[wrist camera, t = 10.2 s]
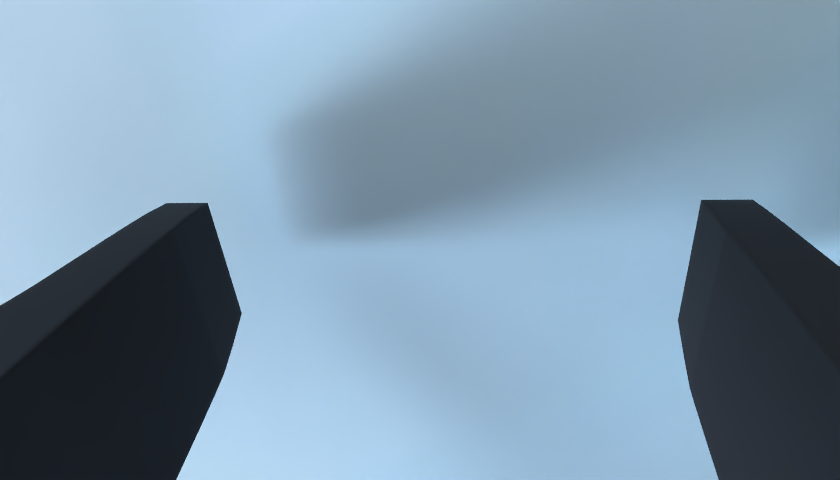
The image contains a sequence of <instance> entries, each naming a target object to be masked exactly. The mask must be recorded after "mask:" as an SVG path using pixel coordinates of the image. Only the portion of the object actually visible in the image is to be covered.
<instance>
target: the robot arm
mask: <svg viewBox="0 0 840 480" xmlns="http://www.w3.org/2000/svg"><path fill="white" fill-rule="evenodd" d="M241 314H242V313H241V310H240V306H239V303H238V300H237V297H236V293H235V290H234V287H233V284H232V281H231V277H230V274H229V271H228V268H227V264H226V261H225V258H224V255H223V251H222V248H221V245H220V242H219V238H218V235H217V232H216V229H215V226H214V222H213V219H212V216H211V213H210V209H209V206H208V203H166V204H164V205H162V206H160V207H158V208H157V209H155V210H153V211H151V212H149V213H147V214H146V215H144V216H142V217H140V218H139V219H137V220H135V221H134V222H132V223H131V224H129V225H127V226H126V227H124V228H123V229H121V230H119V231H118V232H116V233H115V234H113V235H112V236H110V237H108V238H107V239H105V240H104V241H102V242H101V243H99V244H98V245H96V246H94V247H93V248H91V249H90V250H88V251H87V252H85V253H84V254H82V255H81V256H79V257H77V258H76V259H74V260H73V261H71V262H70V263H68V264H67V265H65V266H63V267H62V268H60V269H59V270H57V271H56V272H54V273H53V274H51V275H49V276H48V277H46V278H45V279H43V280H42V281H40V282H39V283H37V284H35V285H34V286H32V287H31V288H29V289H27V290H26V291H24V292H22V293H21V294H19V295H17V296H16V297H14V298H12V299H11V300H9V301H7V302H6V303H4V304H2V305H1V306H0V480H176V479H177V477H178V475H179V472H180V470H181V468H182V466H183V464H184V461H185V459H186V457H187V455H188V453H189V451H190V448H191V446H192V444H193V442H194V440H195V438H196V435H197V433H198V431H199V429H200V427H201V425H202V422H203V420H204V418H205V416H206V413H207V411H208V409H209V407H210V405H211V402H212V400H213V398H214V396H215V393H216V391H217V389H218V387H219V384H220V382H221V380H222V377H223V375H224V372H225V369H226V366H227V362H228V359H229V356H230V353H231V350H232V346H233V343H234V339H235V335H236V332H237V328H238V325H239V321H240V317H241ZM678 323H679V329H680V335H681V341H682V347H683V353H684V359H685V365H686V370H687V375H688V380H689V386H690V390H691V393H692V397H693V400H694V403H695V406H696V410H697V413H698V416H699V419H700V422H701V425H702V429H703V432H704V435H705V438H706V441H707V444H708V448H709V451H710V454H711V457H712V460H713V463H714V466H715V469H716V472H717V475H718V479H719V480H840V267H839V266H838V265H836V264H835V263H834V262H833V261H831V260H830V259H829V258H828V257H826V256H825V255H824V254H822V253H821V252H820V251H819V250H817V249H816V248H815V247H814V246H812V245H811V244H810V243H809V242H807V241H806V240H805V239H803V238H802V237H801V236H800V235H798V234H797V233H796V232H795V231H793V230H792V229H791V228H790V227H788V226H787V225H786V224H785V223H783V222H782V221H781V220H779V219H778V218H777V217H776V216H774V215H773V214H772V213H770V212H769V211H768V210H766V209H765V208H764V207H762V206H761V205H759V204H758V203H757V202H755V201H754V200H701V205H700V210H699V215H698V220H697V225H696V230H695V236H694V241H693V246H692V251H691V256H690V261H689V266H688V272H687V277H686V282H685V287H684V292H683V297H682V303H681V308H680V313H679V318H678Z"/></svg>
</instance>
